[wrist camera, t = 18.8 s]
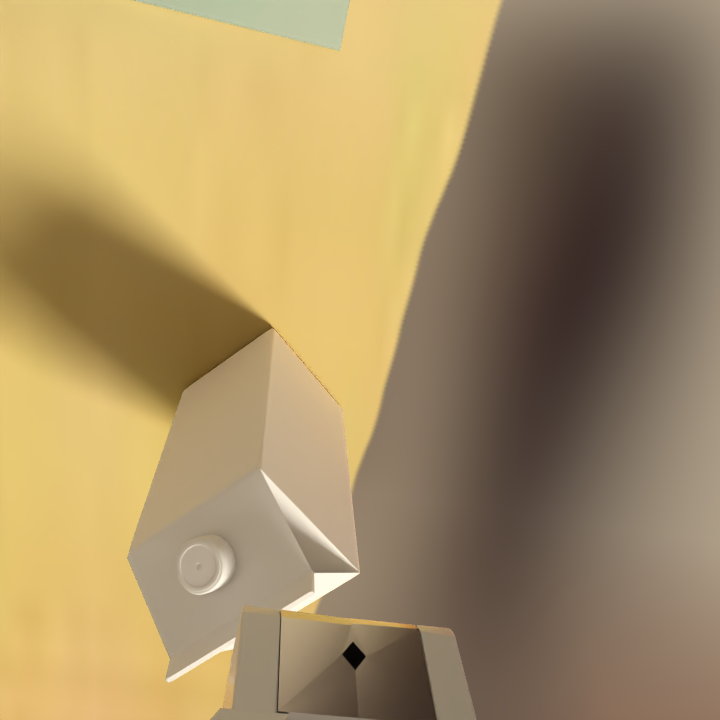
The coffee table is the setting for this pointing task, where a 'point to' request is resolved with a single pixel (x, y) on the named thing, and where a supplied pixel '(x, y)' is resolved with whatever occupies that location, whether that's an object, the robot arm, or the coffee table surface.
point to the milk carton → (245, 503)
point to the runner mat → (274, 16)
